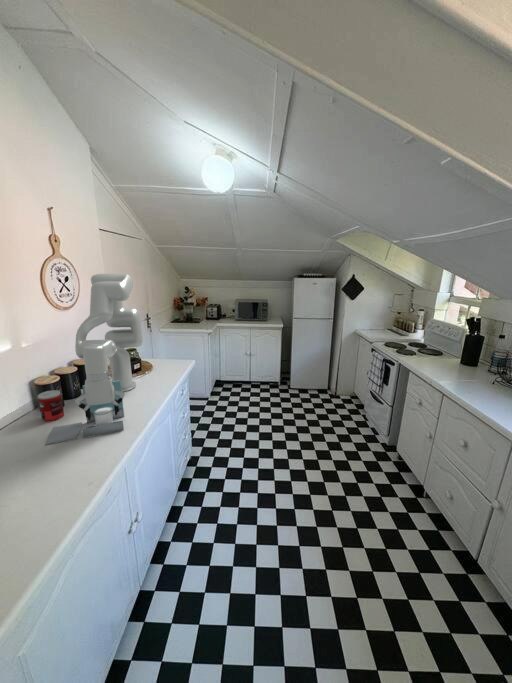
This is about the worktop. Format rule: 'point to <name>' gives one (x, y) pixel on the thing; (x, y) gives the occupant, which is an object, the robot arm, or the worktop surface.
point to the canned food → (51, 405)
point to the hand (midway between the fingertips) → (103, 415)
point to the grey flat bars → (104, 425)
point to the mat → (64, 433)
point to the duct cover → (94, 407)
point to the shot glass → (103, 415)
